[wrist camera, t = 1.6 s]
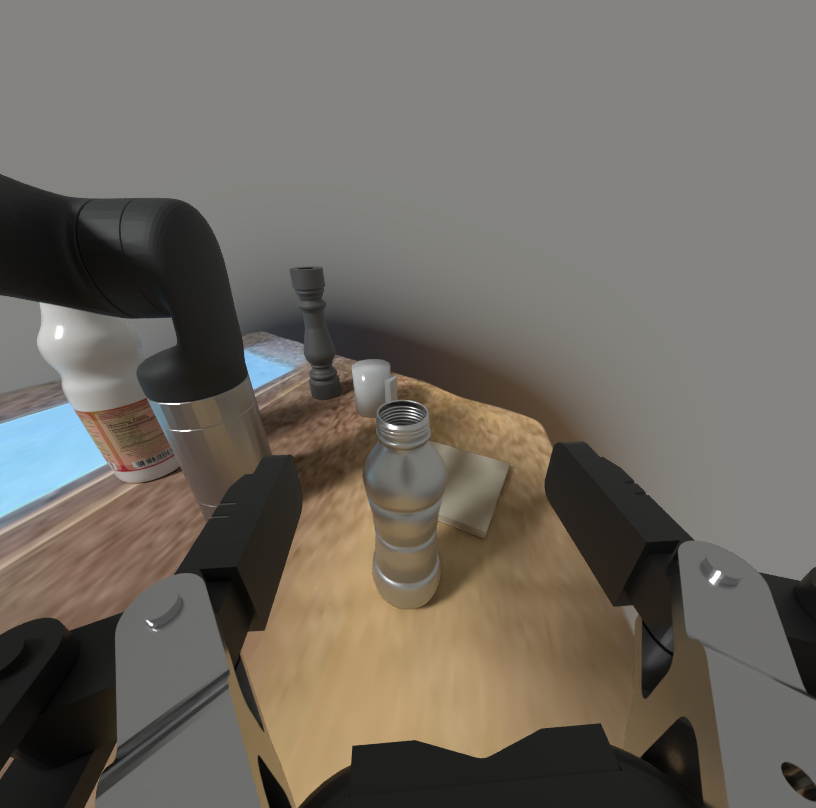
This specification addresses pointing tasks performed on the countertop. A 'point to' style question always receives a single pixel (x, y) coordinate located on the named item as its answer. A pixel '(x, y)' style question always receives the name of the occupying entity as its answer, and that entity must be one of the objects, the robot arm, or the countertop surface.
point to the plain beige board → (470, 489)
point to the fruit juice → (106, 389)
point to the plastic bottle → (405, 504)
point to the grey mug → (373, 386)
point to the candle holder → (316, 332)
